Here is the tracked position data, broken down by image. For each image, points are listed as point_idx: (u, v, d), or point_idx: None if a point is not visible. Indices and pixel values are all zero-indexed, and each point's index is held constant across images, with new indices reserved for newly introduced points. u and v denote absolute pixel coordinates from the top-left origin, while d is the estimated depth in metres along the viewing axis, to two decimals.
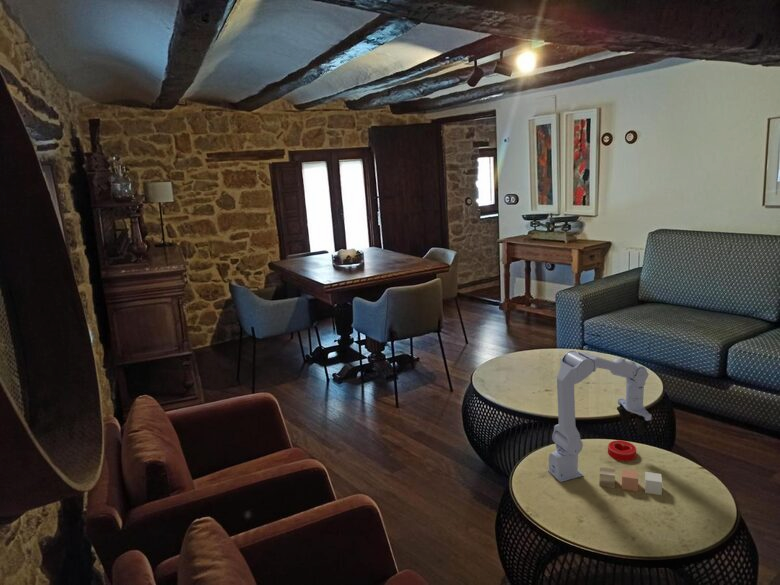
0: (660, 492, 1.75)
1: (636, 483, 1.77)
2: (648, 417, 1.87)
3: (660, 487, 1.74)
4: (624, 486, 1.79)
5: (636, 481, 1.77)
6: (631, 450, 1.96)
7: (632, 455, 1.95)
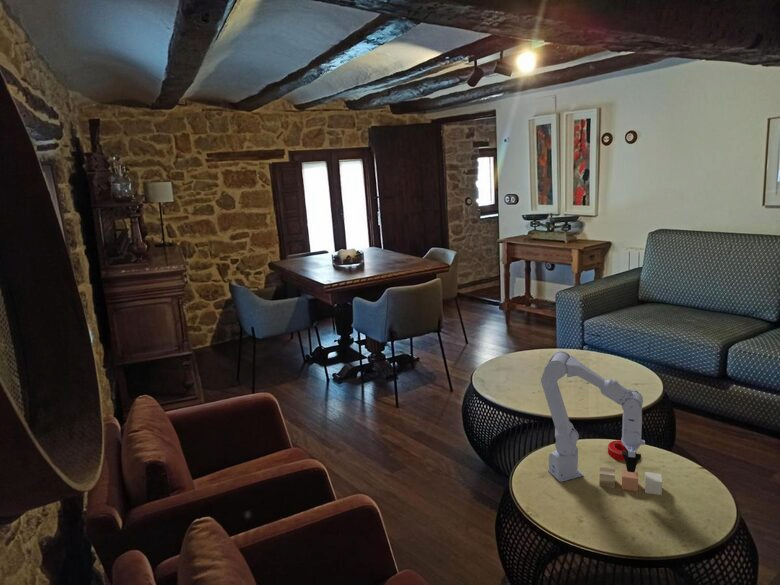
0: (660, 492, 1.75)
1: (636, 483, 1.77)
2: (630, 453, 1.70)
3: (660, 487, 1.74)
4: (624, 486, 1.79)
5: (636, 481, 1.77)
6: None
7: None
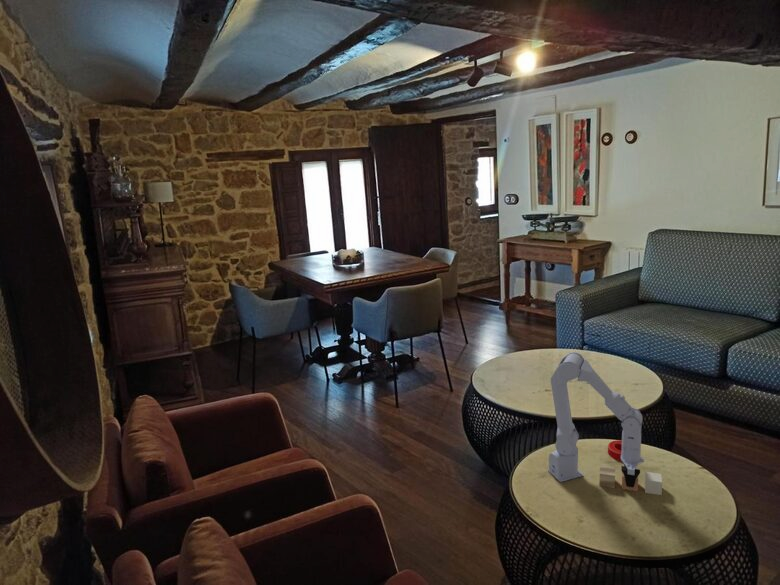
0: (660, 492, 1.75)
1: (636, 483, 1.77)
2: (630, 471, 1.72)
3: (660, 487, 1.74)
4: (624, 486, 1.79)
5: (636, 481, 1.77)
6: None
7: None
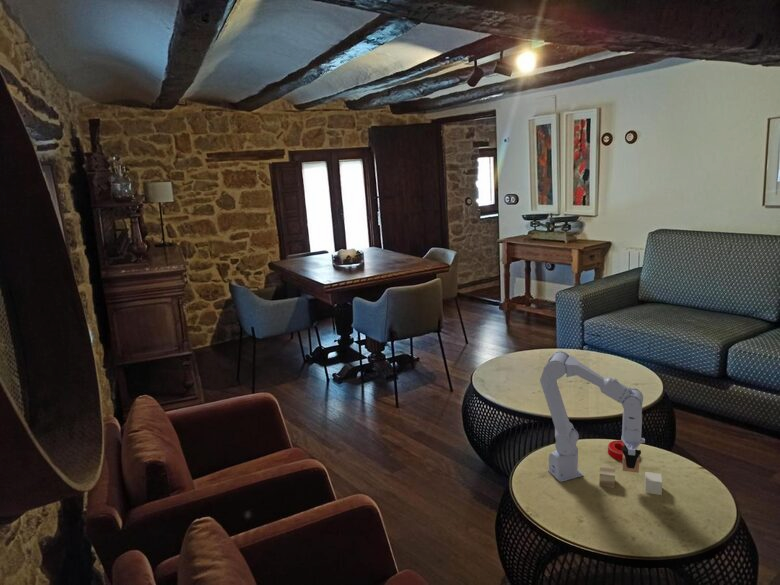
0: (660, 492, 1.75)
1: (637, 464, 1.75)
2: (630, 451, 1.70)
3: (660, 487, 1.74)
4: (625, 468, 1.77)
5: (637, 462, 1.75)
6: None
7: None
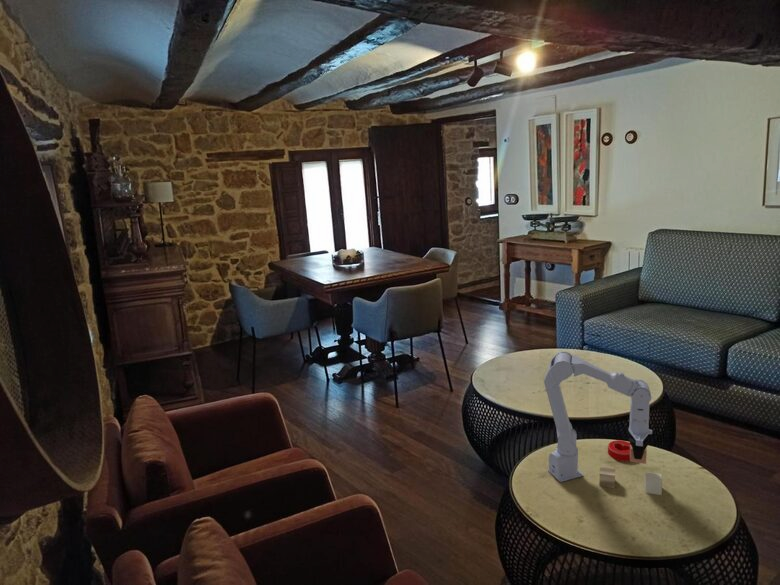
0: (660, 492, 1.75)
1: (644, 455, 1.77)
2: (638, 442, 1.72)
3: (660, 487, 1.74)
4: (633, 459, 1.79)
5: (644, 453, 1.77)
6: None
7: None
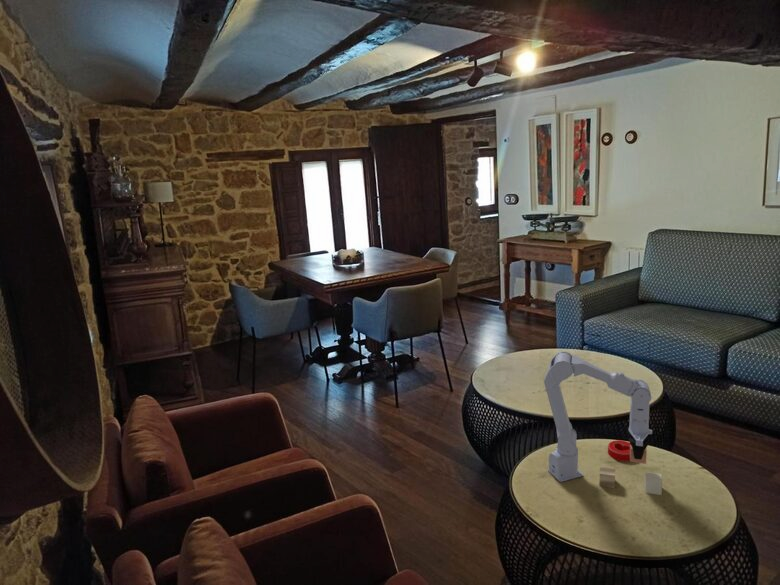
0: (660, 492, 1.75)
1: (644, 455, 1.77)
2: (638, 442, 1.72)
3: (660, 487, 1.74)
4: (633, 459, 1.79)
5: (644, 453, 1.77)
6: None
7: None
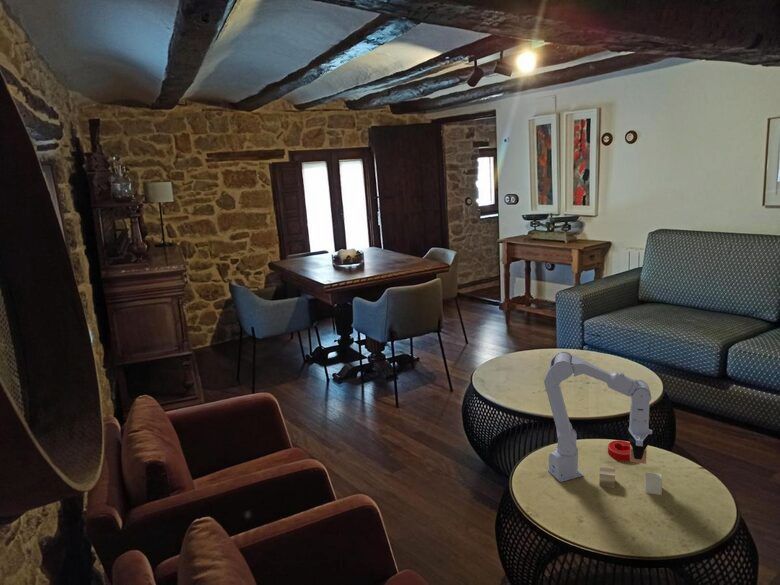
0: (660, 492, 1.75)
1: (644, 455, 1.77)
2: (638, 442, 1.72)
3: (660, 487, 1.74)
4: (633, 459, 1.79)
5: (644, 453, 1.77)
6: None
7: None
